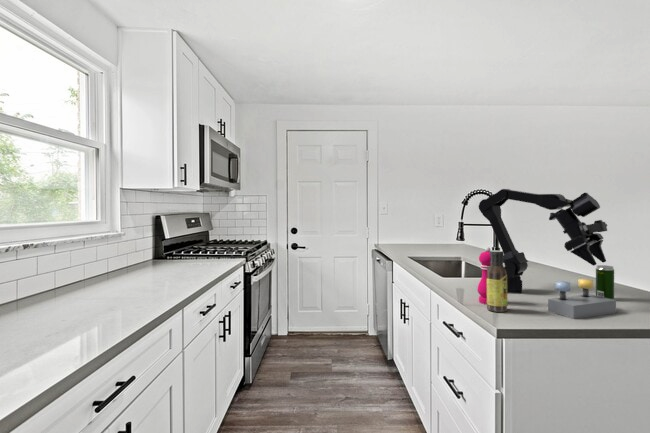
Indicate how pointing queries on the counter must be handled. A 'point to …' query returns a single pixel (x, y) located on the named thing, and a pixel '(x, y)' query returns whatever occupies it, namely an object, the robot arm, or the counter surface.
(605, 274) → the beer can
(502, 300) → the sauce bottle
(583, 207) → the robot arm
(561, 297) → the blue button
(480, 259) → the pepper mill
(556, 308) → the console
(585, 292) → the amber button
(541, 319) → the counter surface
